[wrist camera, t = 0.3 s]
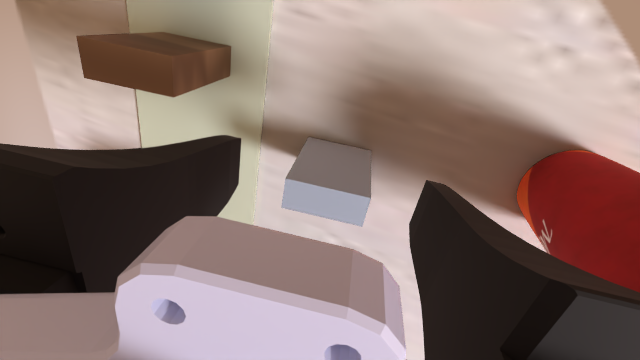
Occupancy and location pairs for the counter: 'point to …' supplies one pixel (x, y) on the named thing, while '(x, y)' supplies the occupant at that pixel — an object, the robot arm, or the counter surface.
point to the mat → (216, 98)
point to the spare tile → (330, 182)
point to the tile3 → (154, 61)
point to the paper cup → (586, 213)
